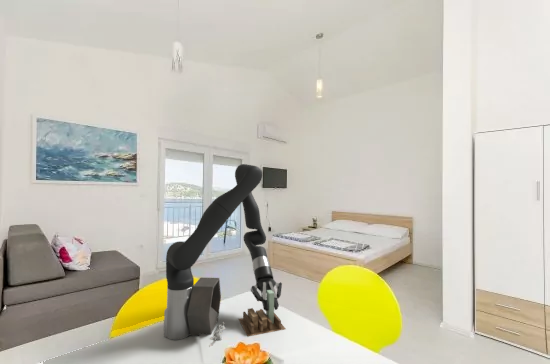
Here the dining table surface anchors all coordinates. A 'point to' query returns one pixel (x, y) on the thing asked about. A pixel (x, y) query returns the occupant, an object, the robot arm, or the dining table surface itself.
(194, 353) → the dining table surface
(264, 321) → the offcut
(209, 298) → the planter
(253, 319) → the offcut
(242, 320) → the rack
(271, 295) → the pale green block
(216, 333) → the white statue
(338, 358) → the dining table surface
